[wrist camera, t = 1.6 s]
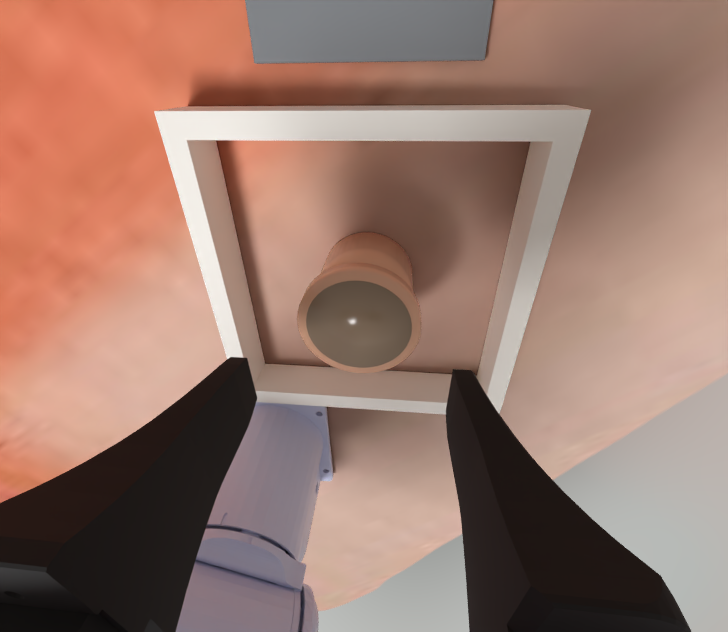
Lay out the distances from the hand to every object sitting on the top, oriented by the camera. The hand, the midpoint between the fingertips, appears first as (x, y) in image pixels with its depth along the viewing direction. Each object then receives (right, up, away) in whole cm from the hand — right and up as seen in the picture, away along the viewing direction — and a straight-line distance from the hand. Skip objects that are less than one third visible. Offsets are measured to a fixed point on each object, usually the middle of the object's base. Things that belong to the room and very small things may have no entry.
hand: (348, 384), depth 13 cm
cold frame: (+1, +5, +7) cm, 8 cm away
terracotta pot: (+1, +5, +7) cm, 8 cm away
